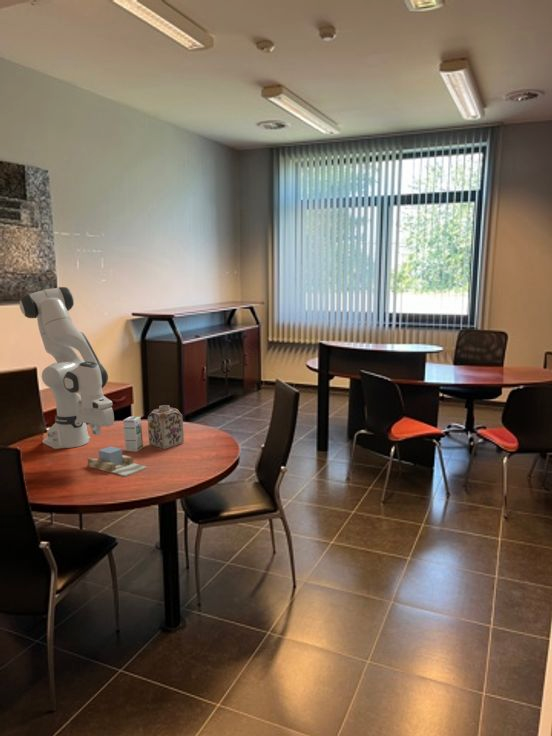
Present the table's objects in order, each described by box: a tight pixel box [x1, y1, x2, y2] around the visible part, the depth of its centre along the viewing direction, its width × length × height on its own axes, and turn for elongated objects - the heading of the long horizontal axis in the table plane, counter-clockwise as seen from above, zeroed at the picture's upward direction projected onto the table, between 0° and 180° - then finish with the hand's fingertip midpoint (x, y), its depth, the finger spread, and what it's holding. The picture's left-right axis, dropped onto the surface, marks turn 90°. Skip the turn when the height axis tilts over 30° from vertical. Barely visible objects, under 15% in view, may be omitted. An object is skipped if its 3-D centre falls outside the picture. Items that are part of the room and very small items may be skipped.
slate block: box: [98, 445, 123, 466], centre depth 217 cm, size 7×6×6 cm
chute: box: [87, 454, 148, 477], centre depth 216 cm, size 23×11×3 cm, turn 56°
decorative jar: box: [147, 404, 185, 450], centre depth 243 cm, size 12×12×18 cm
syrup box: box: [122, 415, 144, 452], centre depth 237 cm, size 6×6×14 cm
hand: (96, 434), depth 220 cm, fingers closed
